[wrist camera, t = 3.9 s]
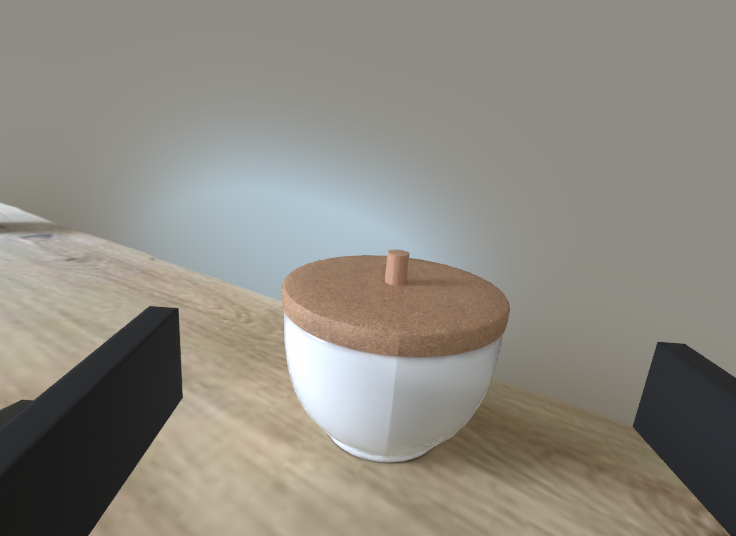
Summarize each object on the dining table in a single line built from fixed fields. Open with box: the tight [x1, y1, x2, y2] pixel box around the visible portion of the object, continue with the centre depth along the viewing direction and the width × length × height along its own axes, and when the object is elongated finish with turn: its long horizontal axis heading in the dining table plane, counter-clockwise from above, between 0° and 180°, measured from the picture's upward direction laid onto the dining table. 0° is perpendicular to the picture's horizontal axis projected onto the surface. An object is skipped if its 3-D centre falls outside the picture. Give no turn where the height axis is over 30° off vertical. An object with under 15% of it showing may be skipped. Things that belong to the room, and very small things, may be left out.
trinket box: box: [282, 250, 510, 462], centre depth 23 cm, size 11×11×9 cm
